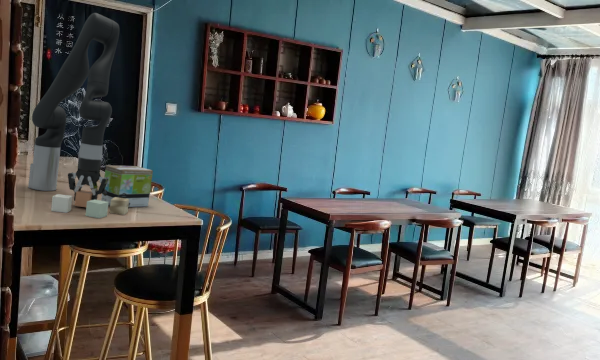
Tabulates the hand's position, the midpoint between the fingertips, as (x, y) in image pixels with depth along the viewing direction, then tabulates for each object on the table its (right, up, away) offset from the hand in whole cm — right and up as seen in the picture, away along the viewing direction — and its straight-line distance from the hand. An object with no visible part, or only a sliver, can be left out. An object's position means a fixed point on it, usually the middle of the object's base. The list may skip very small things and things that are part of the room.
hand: (85, 203), depth 185 cm
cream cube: (-4, -2, -10) cm, 11 cm away
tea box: (+9, -1, +15) cm, 18 cm away
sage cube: (+8, -4, -10) cm, 13 cm away
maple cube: (+12, -3, 0) cm, 12 cm away
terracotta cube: (0, -1, 0) cm, 1 cm away
